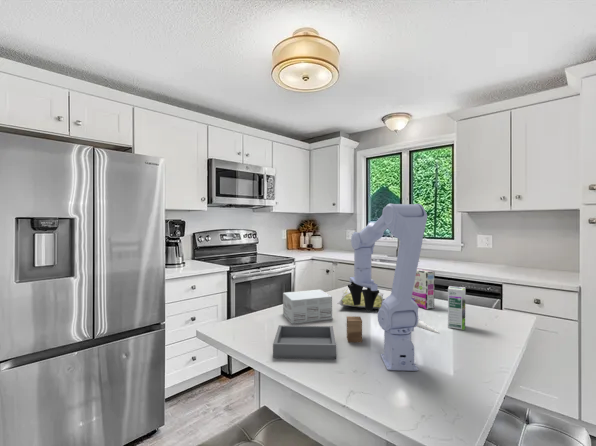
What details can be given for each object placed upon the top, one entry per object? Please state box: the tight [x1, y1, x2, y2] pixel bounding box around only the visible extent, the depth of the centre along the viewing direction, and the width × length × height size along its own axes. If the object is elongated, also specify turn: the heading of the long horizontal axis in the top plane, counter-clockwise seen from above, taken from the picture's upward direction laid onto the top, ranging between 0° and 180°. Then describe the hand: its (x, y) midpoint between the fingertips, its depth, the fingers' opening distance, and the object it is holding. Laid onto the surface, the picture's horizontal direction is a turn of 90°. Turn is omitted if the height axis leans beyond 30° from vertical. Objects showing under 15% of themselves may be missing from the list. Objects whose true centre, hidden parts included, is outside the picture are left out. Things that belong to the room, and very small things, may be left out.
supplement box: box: [282, 288, 333, 325], centre depth 132 cm, size 17×13×9 cm
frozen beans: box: [337, 288, 384, 310], centre depth 150 cm, size 21×6×25 cm
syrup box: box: [447, 285, 466, 331], centre depth 120 cm, size 6×6×14 cm
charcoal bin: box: [272, 324, 337, 360], centre depth 102 cm, size 16×18×4 cm
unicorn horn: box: [416, 318, 440, 334], centre depth 123 cm, size 5×24×5 cm, turn 24°
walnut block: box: [346, 315, 363, 343], centre depth 108 cm, size 4×4×7 cm
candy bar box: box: [411, 268, 436, 310], centre depth 147 cm, size 11×5×16 cm, turn 25°
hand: (362, 307), depth 111 cm, fingers open, 7 cm apart
